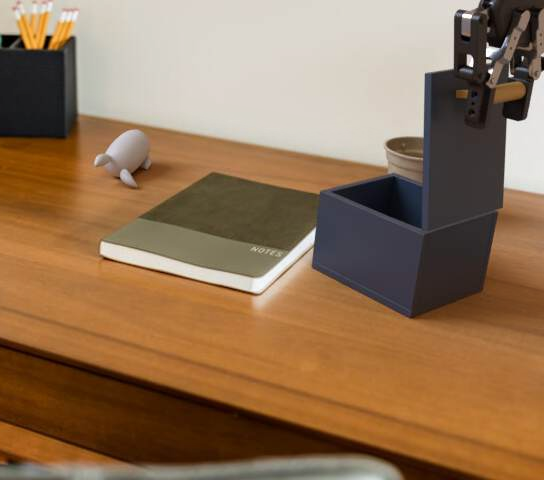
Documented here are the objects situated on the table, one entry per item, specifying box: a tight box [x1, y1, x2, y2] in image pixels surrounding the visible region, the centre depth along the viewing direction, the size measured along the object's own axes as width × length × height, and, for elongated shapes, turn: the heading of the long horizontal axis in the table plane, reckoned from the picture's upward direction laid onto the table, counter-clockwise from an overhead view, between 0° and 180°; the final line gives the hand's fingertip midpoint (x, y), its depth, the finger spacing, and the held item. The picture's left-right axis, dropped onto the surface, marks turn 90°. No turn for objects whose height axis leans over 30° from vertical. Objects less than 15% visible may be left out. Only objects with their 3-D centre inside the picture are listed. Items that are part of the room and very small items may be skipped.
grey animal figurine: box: [93, 129, 152, 188], centre depth 121 cm, size 6×5×12 cm
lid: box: [422, 62, 526, 231], centre depth 83 cm, size 14×12×5 cm
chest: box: [311, 173, 499, 319], centre depth 93 cm, size 14×12×9 cm
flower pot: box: [383, 135, 423, 183], centre depth 111 cm, size 9×9×9 cm
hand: (495, 122), depth 82 cm, fingers closed on lid, 5 cm apart
